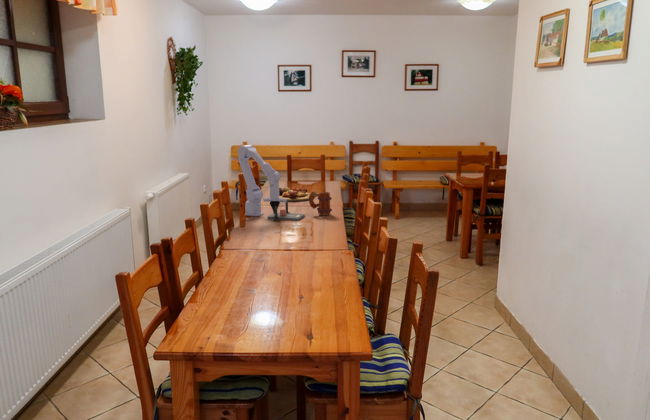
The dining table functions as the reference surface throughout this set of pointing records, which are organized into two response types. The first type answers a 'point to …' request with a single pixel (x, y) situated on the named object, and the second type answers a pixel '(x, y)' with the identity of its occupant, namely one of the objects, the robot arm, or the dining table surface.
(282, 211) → the knob
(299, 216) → the breaker panel
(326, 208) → the mug
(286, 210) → the post
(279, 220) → the post
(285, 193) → the wooden plate with food
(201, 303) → the dining table surface
